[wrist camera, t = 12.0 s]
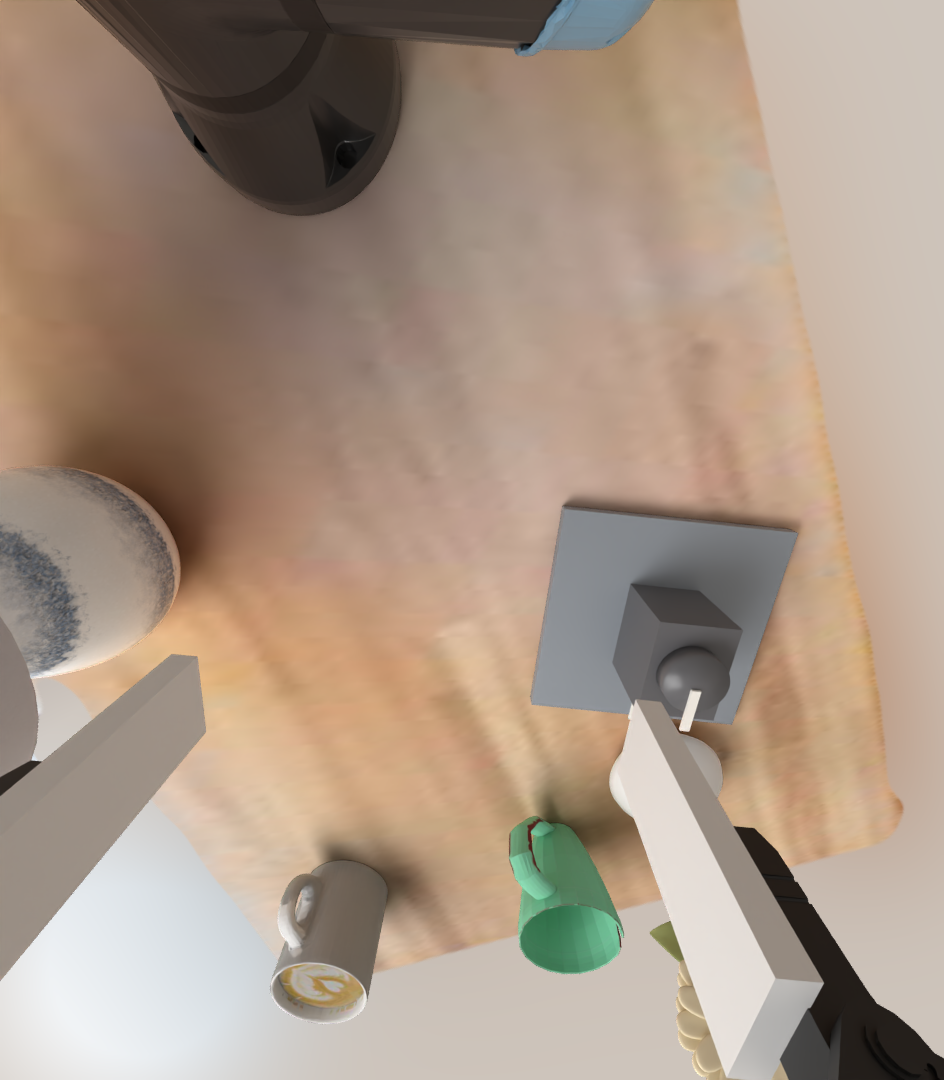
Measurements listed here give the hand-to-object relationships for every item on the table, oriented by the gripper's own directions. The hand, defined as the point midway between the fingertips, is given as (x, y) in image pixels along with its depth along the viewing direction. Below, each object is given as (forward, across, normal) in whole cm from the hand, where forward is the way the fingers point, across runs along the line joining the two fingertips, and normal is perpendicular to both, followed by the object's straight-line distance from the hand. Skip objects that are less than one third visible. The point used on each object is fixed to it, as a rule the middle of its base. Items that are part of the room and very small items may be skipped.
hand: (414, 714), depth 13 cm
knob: (+25, +19, -9) cm, 33 cm away
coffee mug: (+27, -10, -48) cm, 56 cm away
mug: (+27, +13, -36) cm, 47 cm away
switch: (+27, +19, -9) cm, 34 cm away
